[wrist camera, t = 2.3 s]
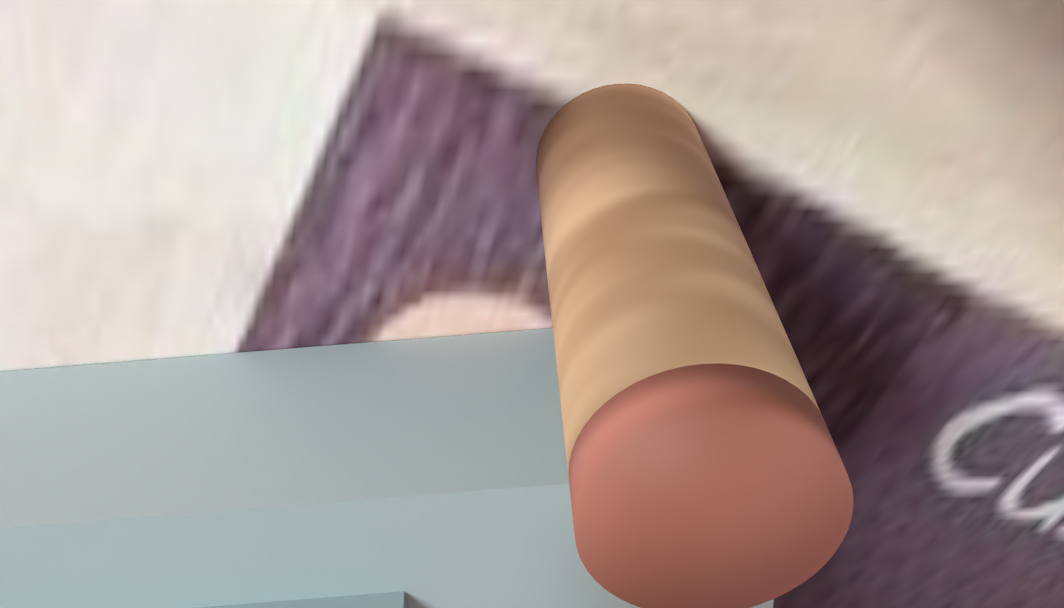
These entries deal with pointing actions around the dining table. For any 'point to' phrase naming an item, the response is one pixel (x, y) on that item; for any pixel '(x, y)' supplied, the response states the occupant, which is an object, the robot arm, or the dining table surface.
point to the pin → (675, 370)
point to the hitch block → (294, 480)
